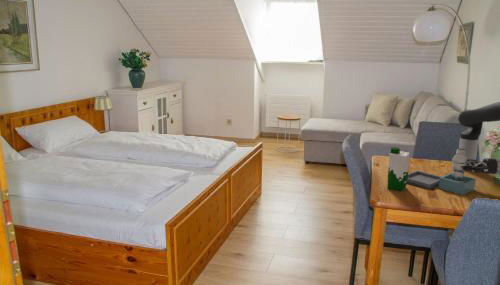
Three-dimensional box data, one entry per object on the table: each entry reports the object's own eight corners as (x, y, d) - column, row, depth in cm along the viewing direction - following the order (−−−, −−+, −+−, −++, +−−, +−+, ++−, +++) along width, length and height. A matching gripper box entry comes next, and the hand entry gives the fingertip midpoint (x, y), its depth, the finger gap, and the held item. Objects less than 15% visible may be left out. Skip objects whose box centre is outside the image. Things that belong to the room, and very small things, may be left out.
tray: (416, 174, 232) (416, 170, 231) (445, 182, 220) (446, 177, 219) (400, 180, 222) (400, 176, 221) (429, 189, 210) (429, 184, 209)
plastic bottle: (465, 191, 207) (470, 151, 202) (450, 190, 208) (455, 150, 203) (462, 187, 213) (466, 148, 208) (447, 186, 214) (452, 147, 209)
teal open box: (450, 182, 219) (451, 172, 217) (474, 189, 210) (475, 178, 208) (438, 188, 211) (439, 177, 210) (462, 195, 202) (464, 183, 201)
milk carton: (389, 184, 217) (392, 145, 212) (408, 187, 213) (411, 148, 208) (385, 189, 210) (388, 149, 205) (404, 192, 205) (407, 152, 200)
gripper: (489, 154, 212) (455, 153, 213) (503, 163, 198) (466, 162, 200) (487, 169, 214) (453, 168, 215) (500, 178, 200) (464, 177, 202)
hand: (459, 165), depth 207 cm, fingers open, 8 cm apart
